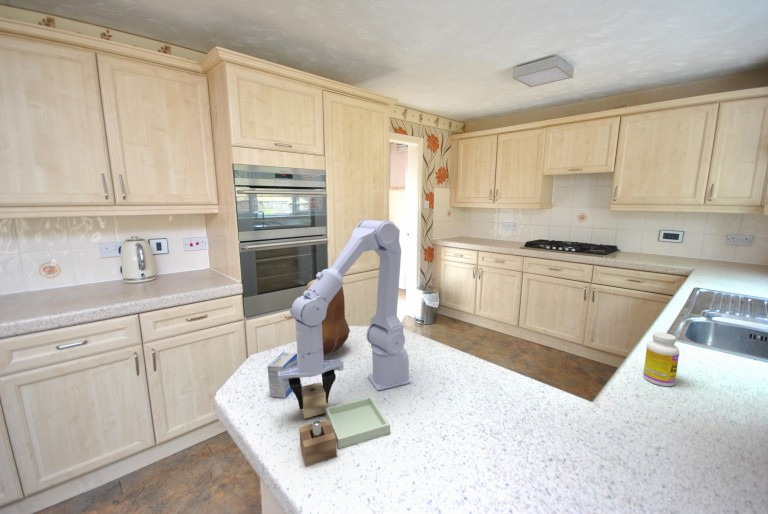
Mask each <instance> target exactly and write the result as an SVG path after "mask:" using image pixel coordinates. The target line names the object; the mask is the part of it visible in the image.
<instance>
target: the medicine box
mask: <svg viewBox="0 0 768 514" xmlns="http://www.w3.org/2000/svg"><path fill="white" fill-rule="evenodd" d="M297 365H298V355H297V352H288V351H283V352H282V353H280V355H279V356H278V357H276V358H275V359H274V360H273V361H272V362H270V363H269V364H268V365H267V375H268V377H267V378H268V379H267V380H268V388H269V389H268V390H269V396H270V397H272V398H279V399H280V398H281V399H286V398H287V397H288V396H289V394H290V393H291V392H293V391H292V389H291V388H290V385H289V381H284V383H281V384H279V381H278V372H279V371H283V370H286V369H289V368H292V367H294V366H297Z"/></svg>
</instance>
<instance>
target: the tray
mask: <svg viewBox="0 0 768 514" xmlns="http://www.w3.org/2000/svg"><path fill="white" fill-rule="evenodd" d="M325 417H326V420H329V422H330V424H331V427H332V429H333V432H334V434H335V437H336V447H337V448H338V449H343V448H346V447H348V446H352V445H355V444H359V443H361V442H365V441H368V440H369V441H370V440H372V439H375V438H379V437H382V436H386V435H389V434H391V424H390V422H389V420H387V417H386V416H385V415H384V413H383V412H382V410H381V409H380V407H379V405H378V404H377V403H376V401H375V399H374V398H373V396H369V397H364V398H360V399H357V400H352V401H349V402H348V401H347V402H344V403H340V404H336V405H332V406H328V407H326V413H325Z"/></svg>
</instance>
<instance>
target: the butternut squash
mask: <svg viewBox="0 0 768 514" xmlns="http://www.w3.org/2000/svg"><path fill="white" fill-rule="evenodd" d="M315 280H316V279H313V280H311V281H309V282H308V283H307V284H306V289H305V290H306V291H307V290H308V289H309V287H310V286H311V285H312V283H313V282H314V281H315ZM345 307H346V306H345V294H344V289H343V285H342V287H341V288H340V289H339V291H338V292H337V293H336V295H335V296H334V297H333V299H332V300H331V301H330V303H329V304H328V307H327V313H326V317H325V319H324V320H323V321H322V338H323V355H333V354H336V353H337V352H338V351H339V350H341V348H342V347H343V345H344V344H345V342H346V341H347V340H348V338H349V335H350V332H351V330H350V326H349V325H348V324H349V323H348V322H347V320H346V311H345V310H346V309H345Z"/></svg>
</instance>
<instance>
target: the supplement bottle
mask: <svg viewBox="0 0 768 514" xmlns="http://www.w3.org/2000/svg"><path fill="white" fill-rule="evenodd" d="M676 342H677V337H676V336H675V335H673V334H672V333H671V334H670V333H667V332H662V331H661V332H660V331H656V332H653V333H652V340H651V341H648V343H647V344H646V348H645V349H646V350H645V351H646V352H645V358H644V366H643V373H642V374H643V375H642V376H643V377H644V379H645V380H646V381H648V382H650V383H652V384H655V385H657V386H661V387H672V386H674V385H675V383H676V379H677V372H678V365H679V357H680V350H679V348H678V347H677V346H676V345H675V344H676Z"/></svg>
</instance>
